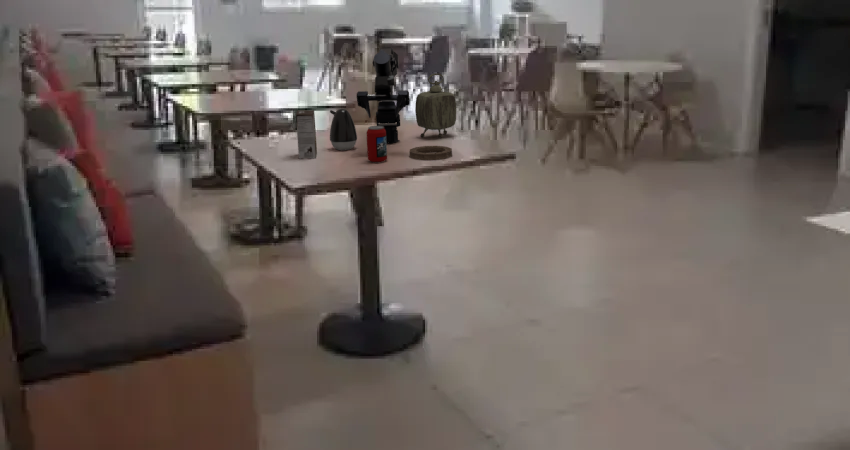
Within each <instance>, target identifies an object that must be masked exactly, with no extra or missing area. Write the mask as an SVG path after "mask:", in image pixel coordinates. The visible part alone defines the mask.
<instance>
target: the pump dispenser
mask: <svg viewBox="0 0 850 450" xmlns="http://www.w3.org/2000/svg"><path fill="white" fill-rule="evenodd" d="M329 113H330V114H331V115H332V117H333V118H332V120H331V123H330V129H329V130H330V131H329V142H330V143H331V145H332V147H333V148H334V149H335V150H337V151H348V150H351V149H354V147H355V145H356V143H357V140H358V134H357V130H356V129H357V128H356V125H355V122H354V120H353V119H354V118H353V117H352V115H351V113H350V112H349V110H348V109H345V108H339V109H337V110H336V111H335V110H332V109H330V110H329Z"/></svg>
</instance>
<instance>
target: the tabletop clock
mask: <svg viewBox="0 0 850 450" xmlns="http://www.w3.org/2000/svg"><path fill="white" fill-rule="evenodd" d="M434 76H440V77H441V81H439V82H438V81H437V80H434V82H432V81H430V79H431V77H434ZM443 81H444V76H443V75H442V74H441V73H437V72H436V73H432V74H430V75H429V77H428V78H427V82H428V83H429V84H430V85H432V86H431V87H430V88H429V90H428V91H422V92H420V93H418V94H417V96H416V99H415V119H416V124H417V126H418V127H420V128H422V129H424V131H423V133H420V138H424V137H425V134H426V133H427V131H428V130H430V131H435V130H436V131H438V135H437V136H438V138H439V137H441V138H443V135H447V134H448V131H447V130H446V129H449V128H452V127H453V126H454V125H456V121H457V100H456V97H455V94H454V93H452V92H447V91H443V87H442V86H441V85H440V84H442V83H443ZM441 130H443V131H441ZM441 132H442V133H443V134H442V133H441Z"/></svg>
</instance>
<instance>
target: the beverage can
mask: <svg viewBox="0 0 850 450" xmlns="http://www.w3.org/2000/svg"><path fill="white" fill-rule="evenodd" d="M387 144H388V143H387V142H386V131H385V129H384V127H383V126H377V125H371V126H368V128H367V130H366V147H367V148H366V149H367V150H366V151H367V152H366V153H367V160H368V161H369V162H370V163H373V162H380V163H384V162H386V160H387V159H388V145H387Z"/></svg>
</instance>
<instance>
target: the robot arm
mask: <svg viewBox="0 0 850 450" xmlns="http://www.w3.org/2000/svg"><path fill="white" fill-rule="evenodd" d="M399 64H400V61H399V54H398V53H396V51H394V48H393V47H392V46H382V47H380V50H379V51H378V52H377V53H376V54H375V55H374V56H373V60H372V67H373V68H374V71H375V77H374V93H375V94H369V91H367V90H365V91H364V90H361V91H360V90H358V91H357V92H356V101H357V106H358V107H361V108H362V109H364V110H365V111H366V113H367V116H368V118H369V119H371V118H372V117H371V116H372V115H371V107H370V102H371V101H372V102H376V101H377V102H378V103H377V111H375V120H376V122H375V124H376V126H383V127H384V129H385V131H386V142H387V144H389V145H391V144H395V143H397V142H400V139H399V131H398V128H399V127H401V115H400V112H401V111H402V110H403V109H404V108H406V107H407V106H410V100H411V99H410V91H409V90H408V89H407V90H406V89H405V90H399V89H398V90H397V94H394V86H395V77H396V76H397V74H398V69H400V65H399Z"/></svg>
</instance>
